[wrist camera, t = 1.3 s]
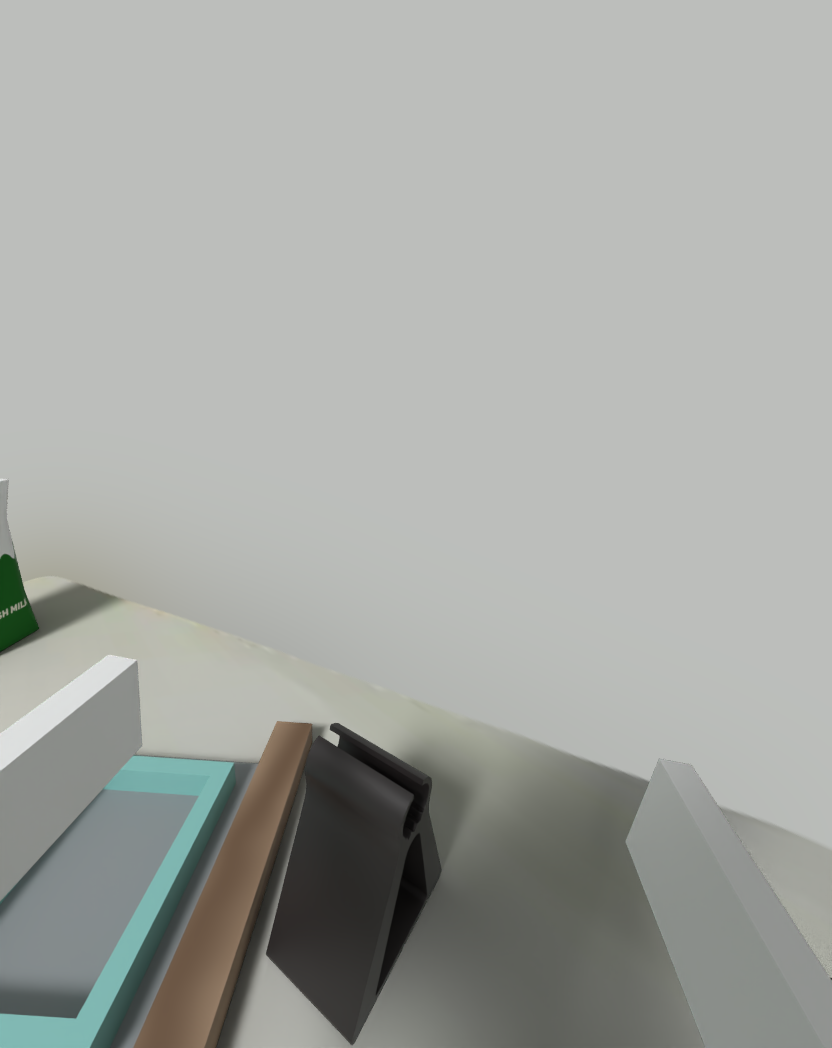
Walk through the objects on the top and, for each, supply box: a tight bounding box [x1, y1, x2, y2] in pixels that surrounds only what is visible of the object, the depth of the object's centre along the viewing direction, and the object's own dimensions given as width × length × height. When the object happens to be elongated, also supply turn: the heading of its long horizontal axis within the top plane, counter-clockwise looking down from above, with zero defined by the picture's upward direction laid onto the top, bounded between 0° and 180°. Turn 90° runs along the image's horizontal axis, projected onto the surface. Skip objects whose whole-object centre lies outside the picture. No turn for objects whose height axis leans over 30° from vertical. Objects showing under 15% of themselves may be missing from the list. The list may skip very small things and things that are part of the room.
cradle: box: [0, 755, 258, 1048], centre depth 24 cm, size 13×18×3 cm
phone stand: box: [266, 723, 441, 1045], centre depth 23 cm, size 9×6×12 cm, turn 148°
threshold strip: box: [133, 721, 312, 1048], centre depth 24 cm, size 3×24×2 cm, turn 179°
